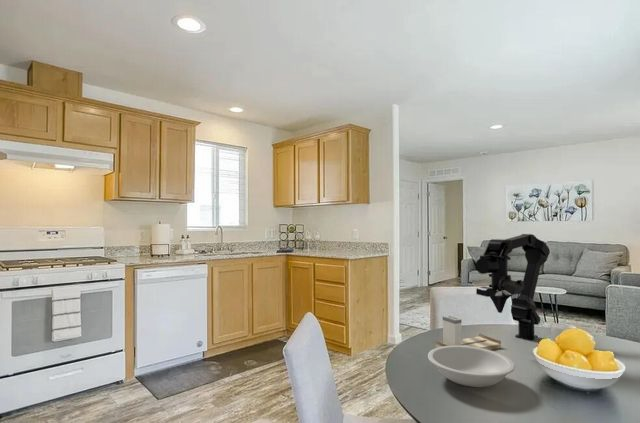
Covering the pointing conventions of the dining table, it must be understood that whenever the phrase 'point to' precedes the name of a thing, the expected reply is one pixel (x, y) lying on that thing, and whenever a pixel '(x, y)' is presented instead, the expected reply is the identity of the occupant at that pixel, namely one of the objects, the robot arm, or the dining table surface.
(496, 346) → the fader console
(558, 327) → the white cup
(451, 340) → the cream rectangular box
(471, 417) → the dining table surface
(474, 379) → the soup bowl
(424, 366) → the dining table surface
